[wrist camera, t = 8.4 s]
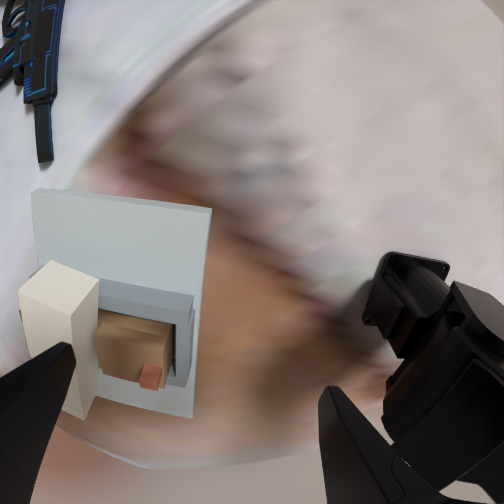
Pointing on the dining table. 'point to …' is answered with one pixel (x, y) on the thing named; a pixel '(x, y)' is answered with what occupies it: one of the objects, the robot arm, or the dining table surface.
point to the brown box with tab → (134, 348)
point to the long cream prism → (65, 325)
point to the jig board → (134, 274)
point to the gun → (34, 61)
